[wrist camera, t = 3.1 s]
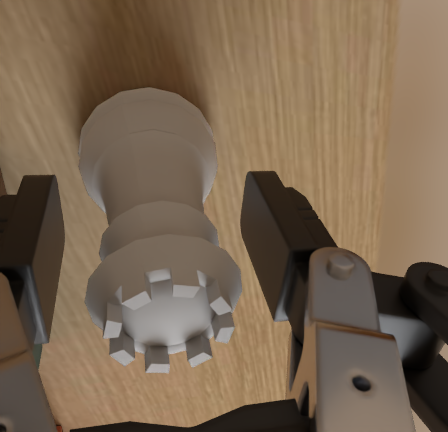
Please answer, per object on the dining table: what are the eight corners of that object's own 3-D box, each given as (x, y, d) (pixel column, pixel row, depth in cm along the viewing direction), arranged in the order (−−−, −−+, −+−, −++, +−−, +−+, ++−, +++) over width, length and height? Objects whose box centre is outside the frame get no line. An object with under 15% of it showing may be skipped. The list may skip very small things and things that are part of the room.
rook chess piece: (52, 111, 13) (-9, 298, 7) (188, 61, 13) (252, 204, 7) (115, 218, 16) (112, 424, 10) (228, 177, 16) (300, 356, 10)
